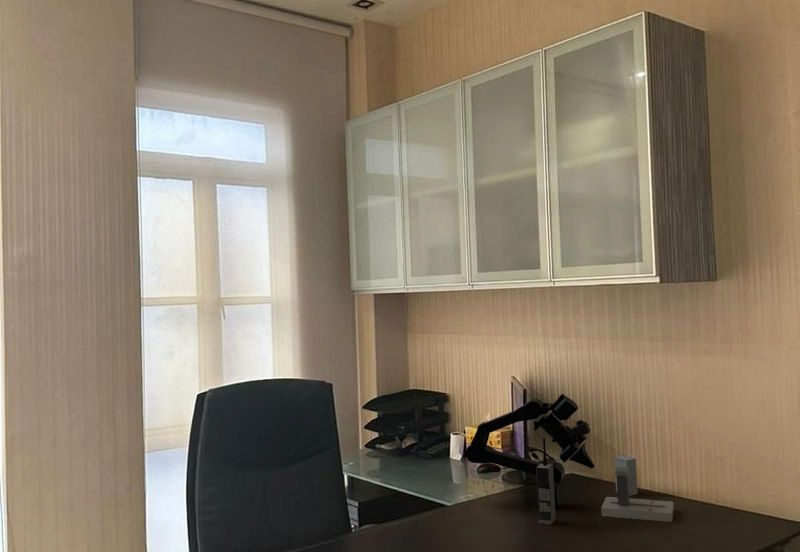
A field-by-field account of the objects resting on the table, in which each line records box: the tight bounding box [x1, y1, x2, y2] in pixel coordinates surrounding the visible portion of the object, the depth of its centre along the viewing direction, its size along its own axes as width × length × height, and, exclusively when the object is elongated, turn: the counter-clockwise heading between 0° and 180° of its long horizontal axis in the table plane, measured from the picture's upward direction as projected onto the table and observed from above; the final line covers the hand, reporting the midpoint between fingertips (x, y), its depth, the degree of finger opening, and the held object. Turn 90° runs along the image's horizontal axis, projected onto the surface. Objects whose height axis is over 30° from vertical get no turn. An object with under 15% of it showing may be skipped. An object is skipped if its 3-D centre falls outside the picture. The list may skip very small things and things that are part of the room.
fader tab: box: [614, 467, 631, 505], centre depth 218 cm, size 4×6×10 cm, turn 157°
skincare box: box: [614, 454, 638, 497], centre depth 237 cm, size 6×4×12 cm
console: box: [600, 496, 675, 523], centre depth 216 cm, size 20×12×3 cm, turn 67°
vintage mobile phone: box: [536, 437, 556, 526], centre depth 212 cm, size 4×5×25 cm
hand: (593, 467), depth 222 cm, fingers closed
